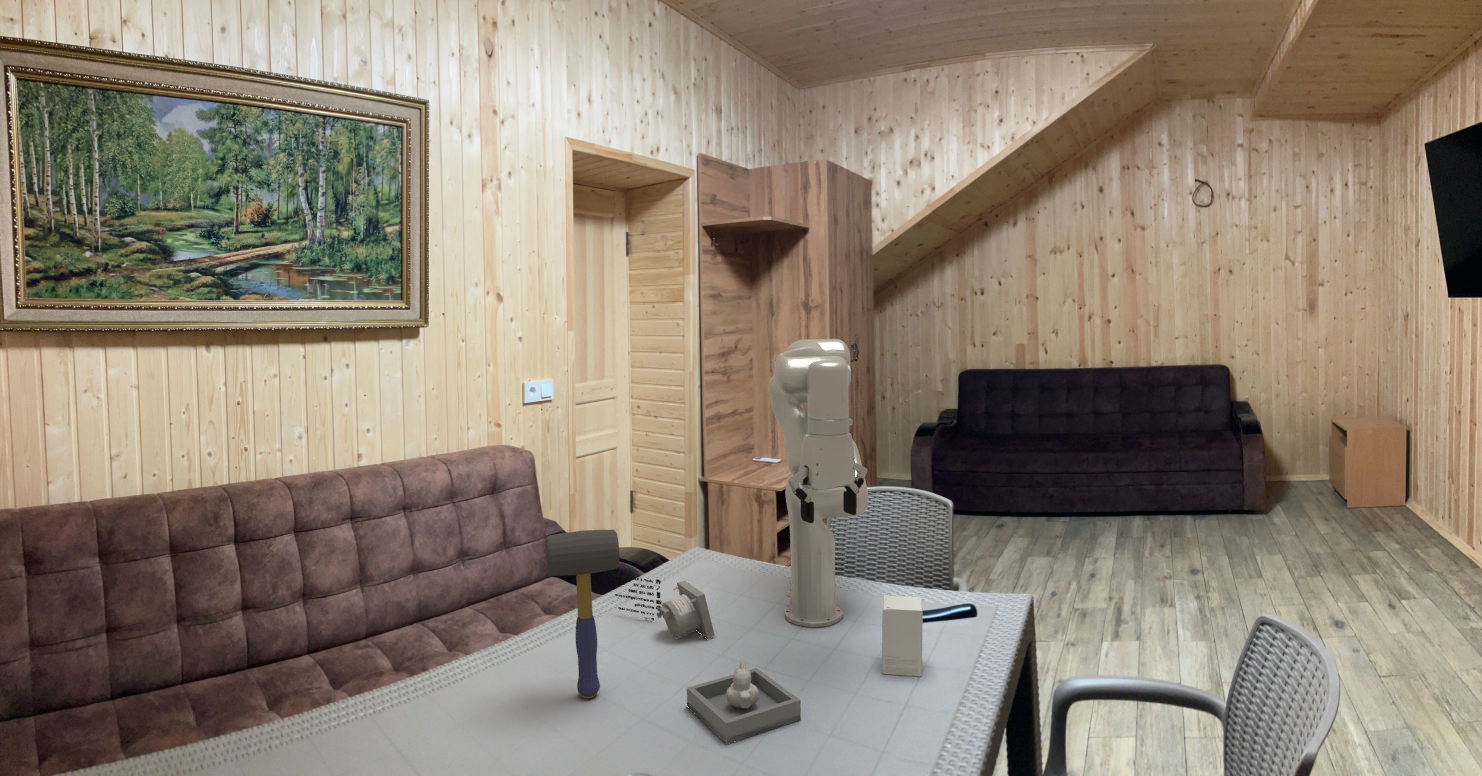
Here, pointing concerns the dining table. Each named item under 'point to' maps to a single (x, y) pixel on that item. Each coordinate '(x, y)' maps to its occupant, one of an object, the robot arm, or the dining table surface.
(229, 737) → the dining table surface
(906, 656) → the supplement box
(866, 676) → the dining table surface
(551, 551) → the rubber mallet
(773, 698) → the tray
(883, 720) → the dining table surface
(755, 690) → the beige rounded piece
